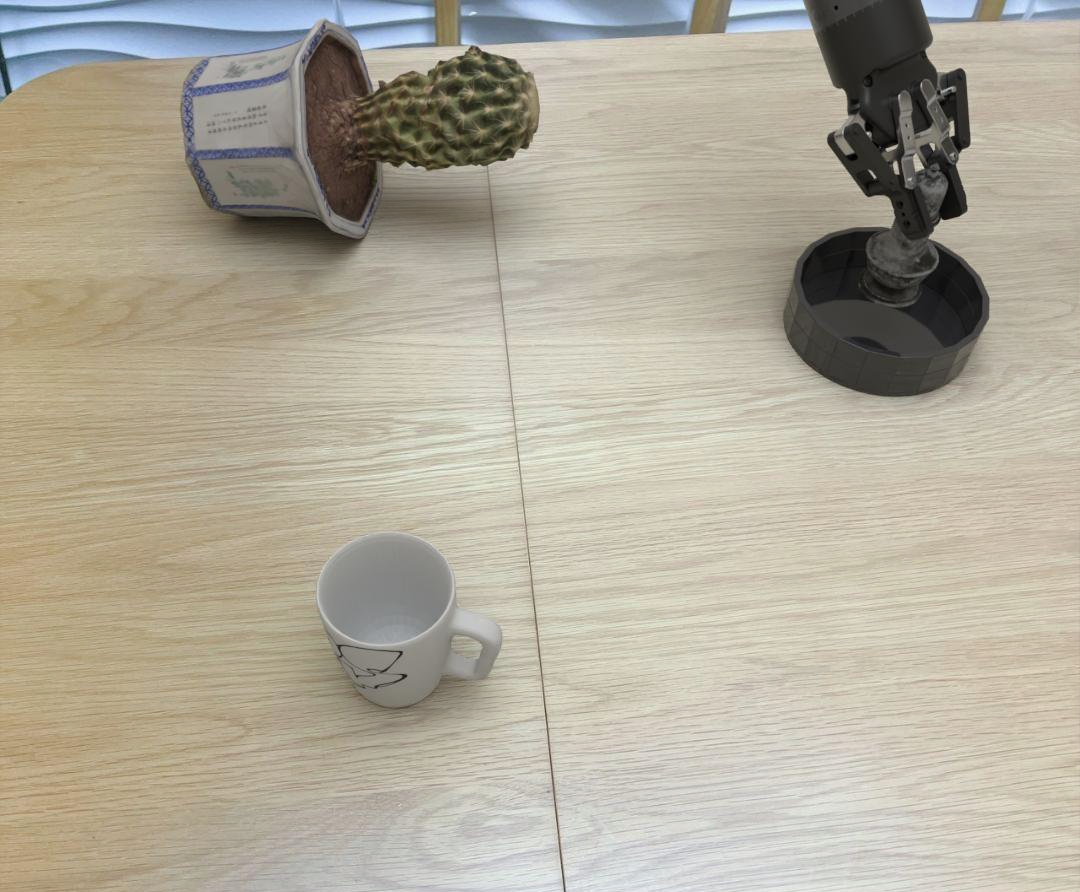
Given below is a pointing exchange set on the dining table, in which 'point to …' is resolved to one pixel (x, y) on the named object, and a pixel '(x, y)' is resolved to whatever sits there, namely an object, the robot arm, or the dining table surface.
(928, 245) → the grey chess piece
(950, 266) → the pan
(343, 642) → the mug
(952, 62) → the dining table surface
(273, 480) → the dining table surface
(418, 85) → the potted plant
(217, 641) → the dining table surface
